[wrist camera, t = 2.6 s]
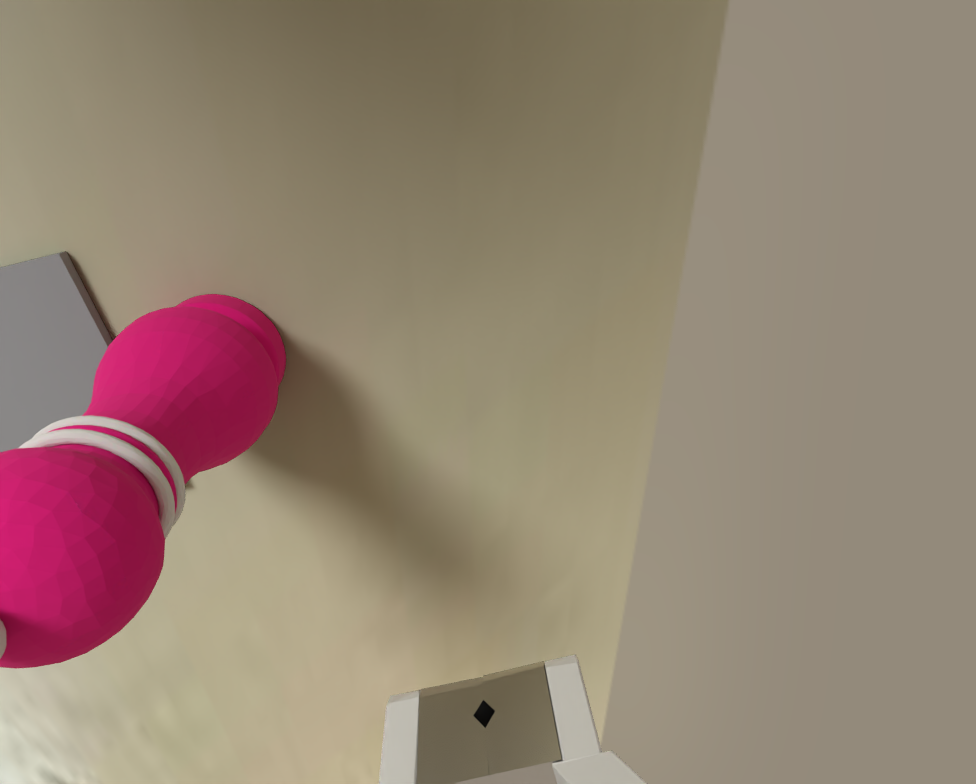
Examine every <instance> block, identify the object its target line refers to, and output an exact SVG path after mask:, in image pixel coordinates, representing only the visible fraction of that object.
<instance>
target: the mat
mask: <svg viewBox="0 0 976 784" xmlns="http://www.w3.org/2000/svg"><path fill="white" fill-rule="evenodd" d="M111 343H112V339H111V337H110V335H109V333H108V331H107V329H106V327H105V325H104V323H103V321H102V319H101V318H100V316H99V314H98V312H97V310H96V308H95V306H94V304H93V302H92V300H91V298H90V296H89V295H88V293H87V291H86V289H85V287H84V285H83V283H82V281H81V279H80V277H79V275H78V273H77V271H76V270H75V268H74V266H73V264H72V262H71V260H70V258H69V256H68V254H67V252H66V251H65V252H61V253H57V254H53V255H49V256H45V257H41V258H37V259H33V260H29V261H25V262H21V263H17V264H13V265H9V266H5V267H1V268H0V452H4V451H8V450H12V449H17V448H19V447H20V446H21V445H22V444H24V443H25V442H27V441H29V440H30V439H32V438H33V437H34V435H35V434H36V433H38V432H39V431H40V430H41V429H43V428H45V427H46V426H48V425H50V424H51V423H54V422H56V421H59V420H62V419H66V418H70V417H76V416H82V415H83V414H84V413H85V412H86V411H87V409H88V407H89V405H90V403H91V399H92V393H93V385H94V379H95V374H96V370H97V368H98V366H99V363H100V361H101V359H102V357H103V356H104V354H105V352H106V350H107V348H108V346H109V345H110V344H111Z"/></svg>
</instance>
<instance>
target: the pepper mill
mask: <svg viewBox="0 0 976 784" xmlns="http://www.w3.org/2000/svg"><path fill="white" fill-rule="evenodd" d="M285 366H286V354H285V349H284V345H283V342H282V339H281V337H280V334H279V332H278V331H277V329H276V327H275V326H274V325H273V323H272V322H271V321H270V320H269V319H268V318H267V317H266V316H265V315H264V314H263V313H262V312H261V311H259V310H258V309H257V308H255V307H254V306H252V305H250V304H248V303H246V302H244V301H242V300H240V299H237V298H234V297H230V296H226V295H217V294H207V295H200V296H196V297H193V298H190V299H188V300H186V301H183V302H182V303H180V304H179V305H177V306H176V307H171V308H164V309H160V310H157V311H154V312H151V313H148V314H146V315H144V316H142V317H140V318H138V319H137V320H135V321H134V322H133V323H131V324H130V325H129V326H128V327H126V328H125V329H124V330H123V331H122V332H121V333H120V334H119V335H118V336H117V337H116V338H115V339H114V340H113V341H112V343H111V344H110V345H109V346H108V348H107V350H106V352H105V354H104V356H103V357H102V359H101V361H100V363H99V366H98V368H97V370H96V374H95V379H94V385H93V393H92V399H91V403H90V405H89V407H88V409H87V411H86V412H85V413H84V414H83V415H82V416H76V417H70V418H66V419H62V420H59V421H56V422H54V423H51V424H50V425H48V426H46V427H45V428H43V429H41V430H40V431H39V432H38V433H36V434H35V435H34V437H33V438H32V439H30V440H29V441H27V442H25V443H24V444H22V445H21V446H20V447H19V448H17V449H12V450H8V451H4V452H0V667H6V668H29V667H38V666H44V665H49V664H55V663H60V662H63V661H66V660H69V659H71V658H74V657H77V656H79V655H82V654H85V653H87V652H89V651H90V650H92V649H94V648H95V647H97V646H99V645H100V644H102V643H104V642H105V641H107V640H108V639H109V638H111V637H112V636H113V635H115V634H116V633H118V632H119V631H120V630H121V629H122V628H123V627H124V626H125V625H126V624H127V623H128V622H129V621H130V620H131V619H132V618H134V616H135V615H136V614H137V612H138V611H139V610H140V609H141V607H142V606H143V605H144V603H145V602H146V601H147V600H148V598H149V596H150V594H151V592H152V590H153V589H154V587H155V585H156V582H157V580H158V578H159V576H160V573H161V570H162V567H163V561H164V548H165V539H166V537H167V535H168V534H169V532H170V530H171V528H172V526H173V525H174V524H175V523H176V521H177V520H178V518H179V517H180V515H181V513H182V511H183V507H184V503H185V492H186V491H185V484H186V483H187V482H188V481H189V480H190V479H191V477H192V476H194V475H195V474H197V473H198V472H201V471H205V470H208V469H211V468H214V467H216V466H219V465H222V464H224V463H227V462H229V461H230V460H232V459H234V458H235V457H237V456H238V455H240V454H241V453H243V452H244V451H246V450H247V449H248V448H249V447H250V446H251V445H252V444H254V443H255V442H256V441H257V439H258V438H259V437H260V435H261V434H262V433H263V431H264V430H265V428H266V427H267V426H268V424H269V423H270V421H271V419H272V416H273V414H274V412H275V409H276V405H277V398H278V386H279V384H280V383H281V380H282V378H283V376H284V371H285Z"/></svg>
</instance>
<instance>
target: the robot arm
mask: <svg viewBox="0 0 976 784" xmlns="http://www.w3.org/2000/svg"><path fill="white" fill-rule="evenodd" d="M379 784H647V783H646V782H645V781H644V780H643V779H642V778H641V777H640V776H639V775H638V774H637V773H636V772H635V771H633V770H632V769H631V768H630V767H629V766H628V765H627V764H626V763H625V762H624V761H623V760H622V759H621V758H620V757H619V756H618V755H617V754H615V753H614V752H613V751H606V752H602V750H601V746H600V742H599V738H598V734H597V730H596V727H595V723H594V719H593V715H592V711H591V707H590V703H589V700H588V696H587V692H586V688H585V684H584V680H583V676H582V673H581V669H580V665H579V661H578V658H577V656H576V655H575V654H574V655H570V656H566V657H561V658H557V659H553V660H548V661H545V664H544V661H542V662H538V663H534V664H530V665H526V666H521V667H517V668H513V669H509V670H505V671H501V672H496V673H492V674H488V675H484V676H483V677H480V678H475V679H469V680H464V681H459V682H454V683H449V684H444V685H439V686H434V687H429V688H424V689H421V690H416V691H411V692H407V693H402V694H397V695H392V696H390V698H389V701H388V703H387V706H386V714H385V725H384V735H383V746H382V756H381V767H380V777H379Z"/></svg>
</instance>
